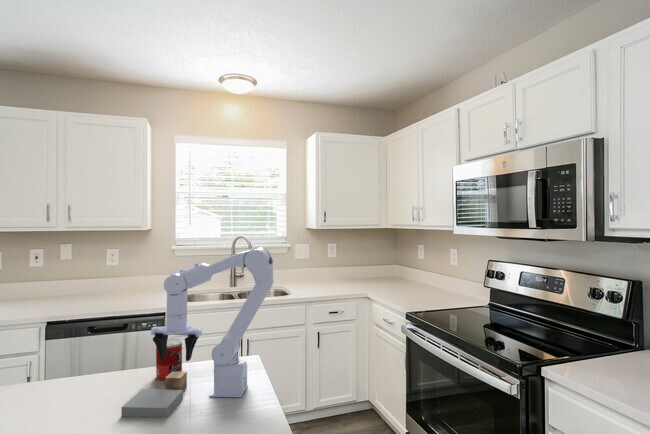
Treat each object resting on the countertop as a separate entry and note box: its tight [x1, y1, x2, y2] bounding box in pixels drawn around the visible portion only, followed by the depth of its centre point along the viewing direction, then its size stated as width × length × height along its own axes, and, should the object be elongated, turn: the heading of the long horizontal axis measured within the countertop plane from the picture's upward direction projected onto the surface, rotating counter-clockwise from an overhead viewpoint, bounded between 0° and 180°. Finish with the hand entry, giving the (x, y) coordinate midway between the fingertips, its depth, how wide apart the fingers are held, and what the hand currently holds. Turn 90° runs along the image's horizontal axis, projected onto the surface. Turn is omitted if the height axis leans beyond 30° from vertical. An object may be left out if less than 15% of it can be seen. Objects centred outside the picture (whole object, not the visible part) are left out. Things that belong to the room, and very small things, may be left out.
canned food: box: [155, 338, 183, 381], centre depth 121 cm, size 8×8×11 cm
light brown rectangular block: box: [164, 371, 188, 393], centre depth 111 cm, size 4×4×5 cm
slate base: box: [121, 388, 184, 419], centre depth 101 cm, size 12×10×2 cm
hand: (175, 359), depth 111 cm, fingers open, 7 cm apart
